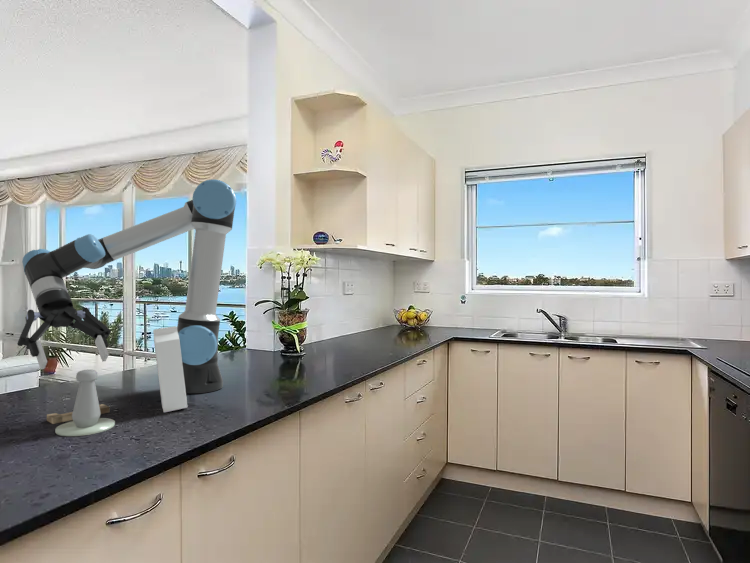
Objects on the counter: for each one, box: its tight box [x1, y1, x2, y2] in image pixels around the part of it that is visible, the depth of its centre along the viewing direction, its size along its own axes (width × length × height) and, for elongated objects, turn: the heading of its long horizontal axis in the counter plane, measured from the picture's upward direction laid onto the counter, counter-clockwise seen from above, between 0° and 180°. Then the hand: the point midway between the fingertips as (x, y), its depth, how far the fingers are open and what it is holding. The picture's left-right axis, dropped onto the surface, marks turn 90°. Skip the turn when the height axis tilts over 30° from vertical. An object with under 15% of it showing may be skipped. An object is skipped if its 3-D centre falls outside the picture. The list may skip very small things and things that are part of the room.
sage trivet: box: [54, 417, 116, 437], centre depth 112 cm, size 12×12×1 cm
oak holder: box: [46, 403, 110, 425], centre depth 120 cm, size 4×13×2 cm, turn 143°
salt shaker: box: [72, 369, 102, 428], centre depth 112 cm, size 6×6×13 cm
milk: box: [152, 325, 188, 413], centre depth 128 cm, size 6×6×22 cm
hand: (76, 361), depth 115 cm, fingers open, 13 cm apart
